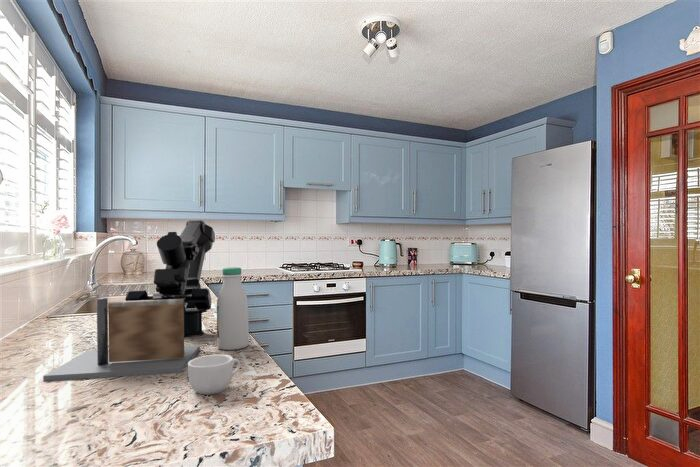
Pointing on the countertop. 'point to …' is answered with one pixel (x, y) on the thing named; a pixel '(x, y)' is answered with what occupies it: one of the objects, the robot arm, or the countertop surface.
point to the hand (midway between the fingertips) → (163, 330)
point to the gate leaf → (146, 330)
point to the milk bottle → (232, 312)
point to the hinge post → (102, 331)
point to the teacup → (211, 373)
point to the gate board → (119, 366)
